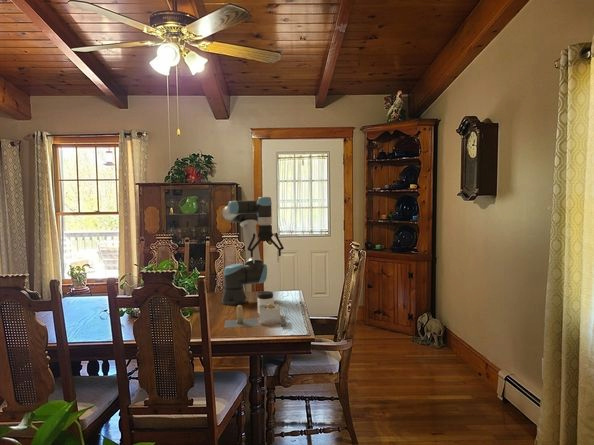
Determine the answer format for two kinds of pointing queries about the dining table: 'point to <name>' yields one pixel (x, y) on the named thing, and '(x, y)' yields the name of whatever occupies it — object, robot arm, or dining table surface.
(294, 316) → the dining table surface
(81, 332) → the dining table surface
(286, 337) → the dining table surface
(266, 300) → the jar
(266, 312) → the collar
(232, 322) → the post board
